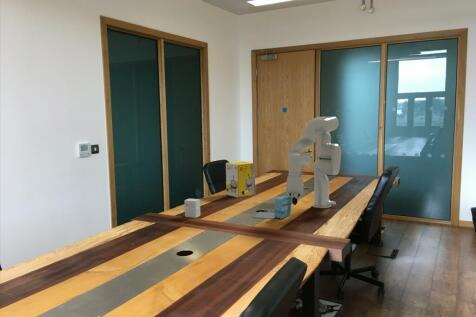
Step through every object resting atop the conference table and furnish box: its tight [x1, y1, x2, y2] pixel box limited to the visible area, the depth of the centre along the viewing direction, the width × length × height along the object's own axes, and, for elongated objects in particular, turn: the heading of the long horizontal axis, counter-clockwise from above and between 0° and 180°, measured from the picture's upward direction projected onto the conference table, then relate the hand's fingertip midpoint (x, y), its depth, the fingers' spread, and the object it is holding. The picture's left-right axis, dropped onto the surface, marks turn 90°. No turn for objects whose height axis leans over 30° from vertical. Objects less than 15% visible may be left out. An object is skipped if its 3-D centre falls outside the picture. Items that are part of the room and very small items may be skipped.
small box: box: [183, 198, 201, 218], centre depth 246 cm, size 8×6×10 cm
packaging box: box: [225, 160, 256, 199], centre depth 310 cm, size 16×16×25 cm
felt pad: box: [252, 211, 276, 220], centre depth 246 cm, size 13×14×1 cm
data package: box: [273, 195, 292, 219], centre depth 242 cm, size 12×4×12 cm, turn 142°
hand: (294, 204), depth 239 cm, fingers closed
